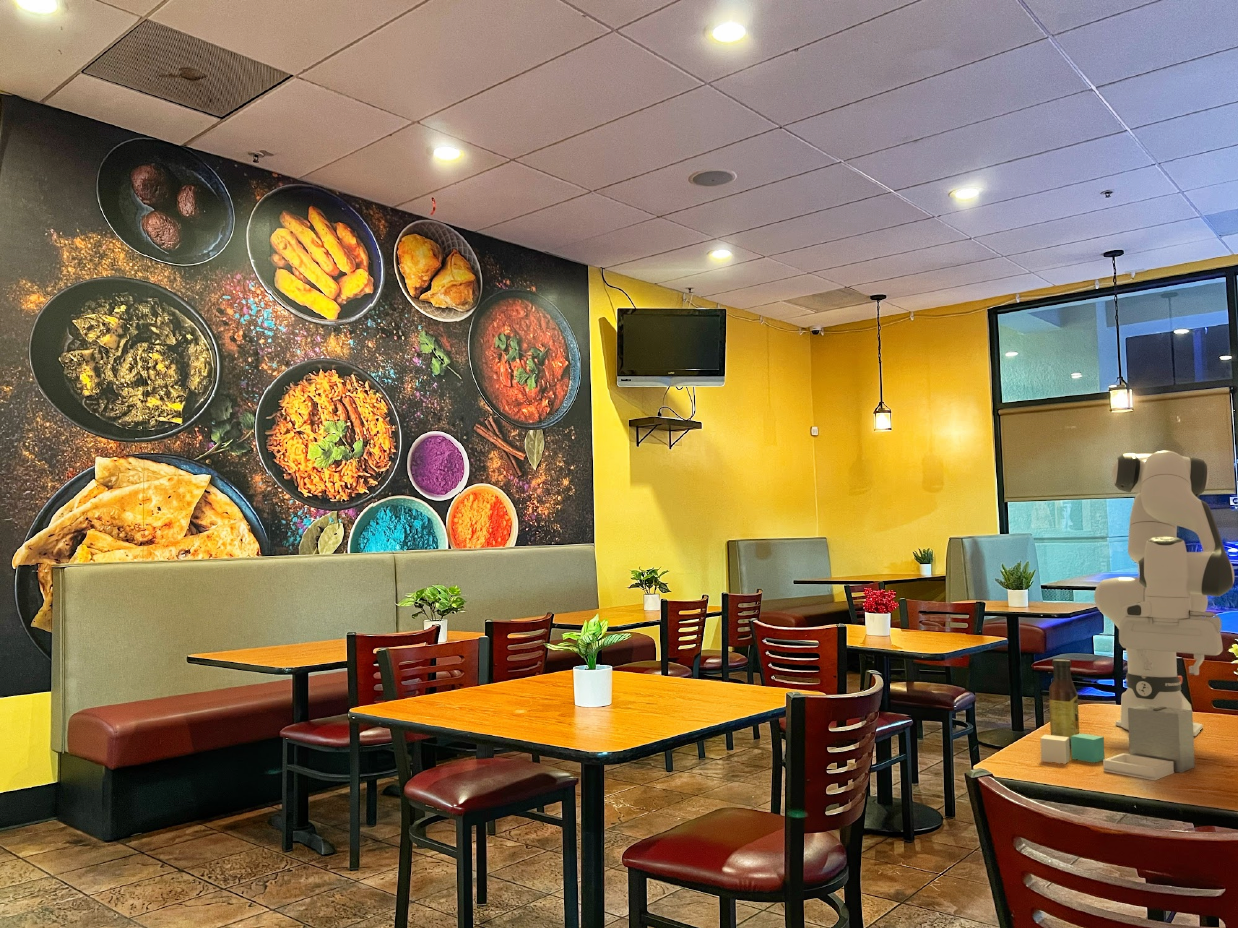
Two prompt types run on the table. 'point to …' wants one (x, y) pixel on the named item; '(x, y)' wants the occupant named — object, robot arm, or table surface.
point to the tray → (1138, 766)
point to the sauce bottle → (1063, 701)
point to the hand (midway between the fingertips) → (1170, 672)
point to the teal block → (1087, 747)
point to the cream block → (1055, 749)
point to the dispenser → (1162, 734)
